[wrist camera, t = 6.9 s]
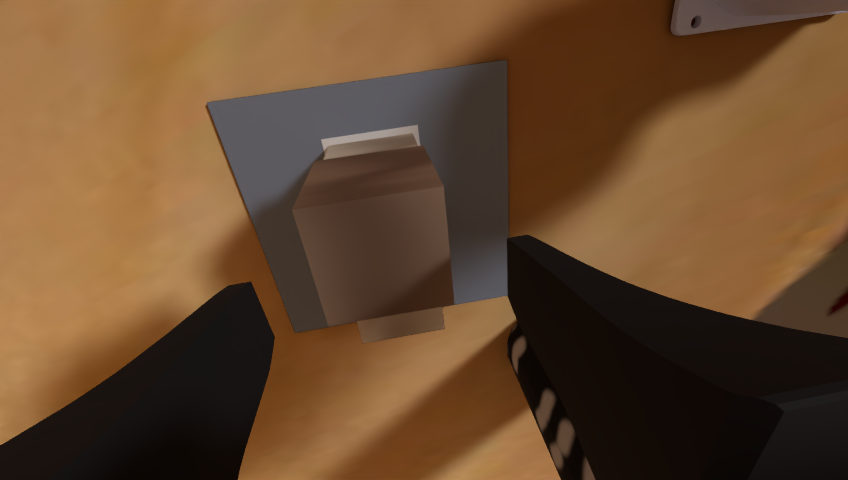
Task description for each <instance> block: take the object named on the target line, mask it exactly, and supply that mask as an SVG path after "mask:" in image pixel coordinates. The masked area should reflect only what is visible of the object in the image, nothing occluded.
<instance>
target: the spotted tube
mask: <svg viewBox="0 0 848 480" xmlns="http://www.w3.org/2000/svg"><path fill="white" fill-rule="evenodd" d="M507 353H508V357H509V360H510V362H511V365H512V367H513V369H514V372H515V374H516V376H517V379H518V381H519V383H520V386H521V388H522V390H523V392H524V395H525V397H526V399H527V402H528V404H529V406H530V409H531V411H532V413H533V416H534V418H535V420H536V423H537V425H538V427H539V430H540V432H541V434H542V437H543V439H544V441H545V443H546V446H547V448H548V450H549V453H550V455H551V457H552V460H553V462H554V464H555V467H556V469H557V471H558V474H559V476H560V478H561V480H595V478H594V475H593V473H592V471H591V468H590V466H589V463H588V461H587V459H586V456H585V454H584V451H583V449H582V447H581V444H580V442H579V439H578V437H577V435H576V433H575V430H574V428H573V426H572V424H571V421H570V419H569V417H568V414H567V412H566V410H565V408H564V405H563V403H562V402H561V400H560V398H559V396H558V394H557V392H556V390H555V388H554V386H553V385H552V383H551V381H550V379H549V377H548V376H547V374H546V372H545V370H544V369H543V367H542V365H541V363H540V362H539V360H538V358H537V356H536V354H535V353H534V351H533V349H532V347H531V346H530V344H529V342H528V340H527V338H526V337H525V335H524V333H523V331H522V329H521V327H520V326H519V323H518V322H517V323H516V325H515V326H514V328H513V329H512V331H511V334H510V336H509V338H508V344H507Z"/></svg>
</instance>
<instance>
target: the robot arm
mask: <svg viewBox="0 0 848 480" xmlns="http://www.w3.org/2000/svg"><path fill="white" fill-rule="evenodd" d="M845 12H848V0H675V4H674V10H673V15H672V21H671V32H672V33H673V34H674V35H677V36H684V35H691V34H698V33H705V32H712V31H719V30H726V29H733V28H740V27H747V26H754V25H761V24H768V23H775V22H782V21H789V20H796V19H803V18H810V17H817V16H824V15H831V14H838V13H845ZM693 18H695V23H694V25H693V26H692V27H691V21H692V19H693ZM507 288H508V298H509V301H510V303H511V306H512V309H513V311H514V314H515V316H516V319H517V321H518V323H519V326H520V327H521V329H522V331H523V333H524V335H525V337H526V338H527V340H528V342H529V344H530V346H531V347H532V349H533V351H534V353H535V354H536V356H537V358H538V360H539V362H540V363H541V365H542V367H543V369H544V370H545V372H546V374H547V376H548V377H549V379H550V381H551V383H552V385H553V386H554V388H555V390H556V392H557V394H558V396H559V398H560V400H561V402H562V403H563V405H564V408H565V410H566V412H567V414H568V417H569V419H570V421H571V424H572V426H573V428H574V430H575V433H576V435H577V437H578V439H579V442H580V444H581V447H582V449H583V451H584V454H585V456H586V459H587V461H588V463H589V466H590V468H591V471H592V473H593V475H594V478H595V480H848V338H844V337H837V336H832V335H826V334H820V333H813V332H807V331H802V330H796V329H791V328H785V327H781V326H776V325H771V324H767V323H763V322H758V321H753V320H749V319H744V318H740V317H736V316H732V315H728V314H724V313H720V312H716V311H713V310H709V309H706V308H702V307H699V306H695V305H692V304H688V303H685V302H681V301H678V300H675V299H672V298H669V297H666V296H663V295H660V294H657V293H654V292H652V291H649V290H646V289H643V288H640V287H638V286H635V285H632V284H630V283H627V282H625V281H622V280H620V279H618V278H616V277H613V276H611V275H609V274H606V273H604V272H602V271H600V270H597V269H595V268H593V267H591V266H589V265H587V264H585V263H583V262H581V261H579V260H577V259H575V258H573V257H571V256H569V255H567V254H565V253H563V252H561V251H559V250H557V249H555V248H554V247H552V246H550V245H548V244H546V243H544V242H542V241H540V240H538V239H536V238H534V237H532V236H529V235H523V236H517V237H512V238H507ZM274 339H275V337H274V334H273V332H272V330H271V327H270V325H269V323H268V320H267V318H266V316H265V313H264V311H263V309H262V306H261V304H260V302H259V299H258V297H257V294H256V292H255V290H254V287H253V285H252V283H251V282H246V283H241V284H235V285H229V286H227V287H226V288H224V289H223V290H221V291H220V292H218V293H217V294H216V295H215V296H213V297H212V298H211V299H209V300H208V301H207V302H206V303H204V304H203V305H202V306H201V307H199V308H198V309H197V310H196V311H195V312H193V313H192V314H191V315H190V316H188V317H187V318H186V319H185V320H184V321H182V322H181V323H180V324H179V325H177V326H176V327H175V328H174V329H172V330H171V331H170V332H169V333H168V334H166V335H165V336H164V337H163V338H161V339H160V340H159V341H157V342H156V343H155V344H153V345H152V346H151V347H149V348H148V349H147V350H146V351H144V352H143V353H142V354H140V355H139V356H138V357H136V358H135V359H134V360H132V361H131V362H130V363H128V364H127V365H126V366H125V367H123V368H122V369H120V370H119V371H118V372H116V373H115V374H113V375H112V376H110V377H109V378H108V379H106V380H105V381H103V382H102V383H100V384H99V385H97V386H96V387H94V388H93V389H91V390H90V391H88V392H87V393H85V394H84V395H82V396H81V397H79V398H78V399H76V400H75V401H73V402H72V403H70V404H69V405H67V406H65V407H64V408H62V409H61V410H59V411H57V412H56V413H54V414H52V415H51V416H49V417H47V418H46V419H44V420H42V421H41V422H39V423H37V424H36V425H34V426H32V427H30V428H29V429H27V430H25V431H24V432H22V433H20V434H19V435H17V436H15V437H14V438H12V439H10V440H9V441H7V442H5V443H4V444H2V445H0V480H238V475H239V470H240V466H241V463H242V459H243V455H244V452H245V448H246V445H247V442H248V439H249V435H250V432H251V429H252V426H253V423H254V420H255V416H256V413H257V410H258V407H259V404H260V400H261V397H262V394H263V391H264V387H265V384H266V381H267V377H268V374H269V370H270V365H271V359H272V353H273V346H274Z"/></svg>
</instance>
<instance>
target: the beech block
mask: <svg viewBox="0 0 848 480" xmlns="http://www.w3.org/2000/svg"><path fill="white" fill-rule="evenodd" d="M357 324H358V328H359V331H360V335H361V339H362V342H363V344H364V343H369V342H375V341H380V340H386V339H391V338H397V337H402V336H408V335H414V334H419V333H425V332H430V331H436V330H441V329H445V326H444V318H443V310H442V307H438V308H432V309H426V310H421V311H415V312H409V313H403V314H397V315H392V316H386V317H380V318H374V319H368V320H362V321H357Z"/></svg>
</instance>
